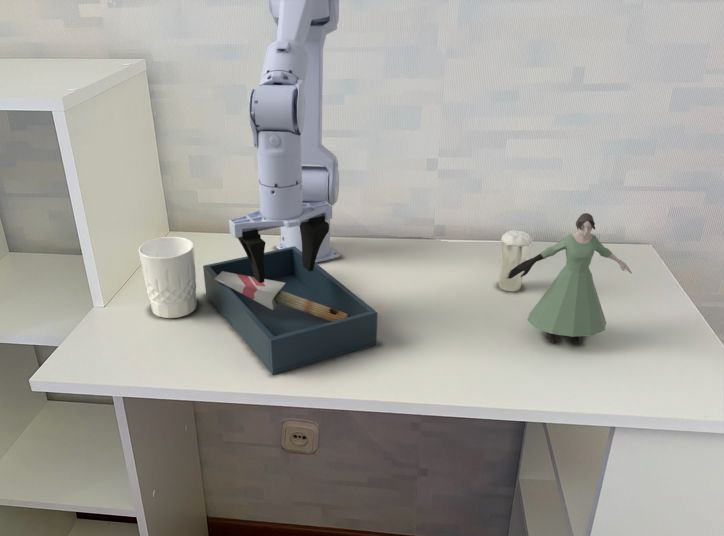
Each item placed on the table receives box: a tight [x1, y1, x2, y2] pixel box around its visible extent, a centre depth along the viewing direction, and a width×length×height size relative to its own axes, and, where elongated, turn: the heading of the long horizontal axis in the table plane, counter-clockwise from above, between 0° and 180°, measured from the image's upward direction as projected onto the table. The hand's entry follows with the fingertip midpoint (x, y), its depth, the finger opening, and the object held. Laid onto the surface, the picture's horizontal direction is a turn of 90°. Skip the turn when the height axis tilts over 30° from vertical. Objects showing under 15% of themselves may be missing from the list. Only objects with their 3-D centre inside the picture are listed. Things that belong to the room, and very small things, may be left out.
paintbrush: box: [215, 271, 348, 321], centre depth 102 cm, size 4×3×20 cm
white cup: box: [138, 236, 198, 319], centre depth 105 cm, size 8×8×10 cm
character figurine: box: [506, 212, 632, 345], centre depth 93 cm, size 16×8×18 cm, turn 83°
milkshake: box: [498, 229, 538, 292], centre depth 108 cm, size 4×5×10 cm
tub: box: [202, 246, 378, 375], centre depth 102 cm, size 26×16×5 cm, turn 26°
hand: (284, 274), depth 100 cm, fingers open, 7 cm apart
